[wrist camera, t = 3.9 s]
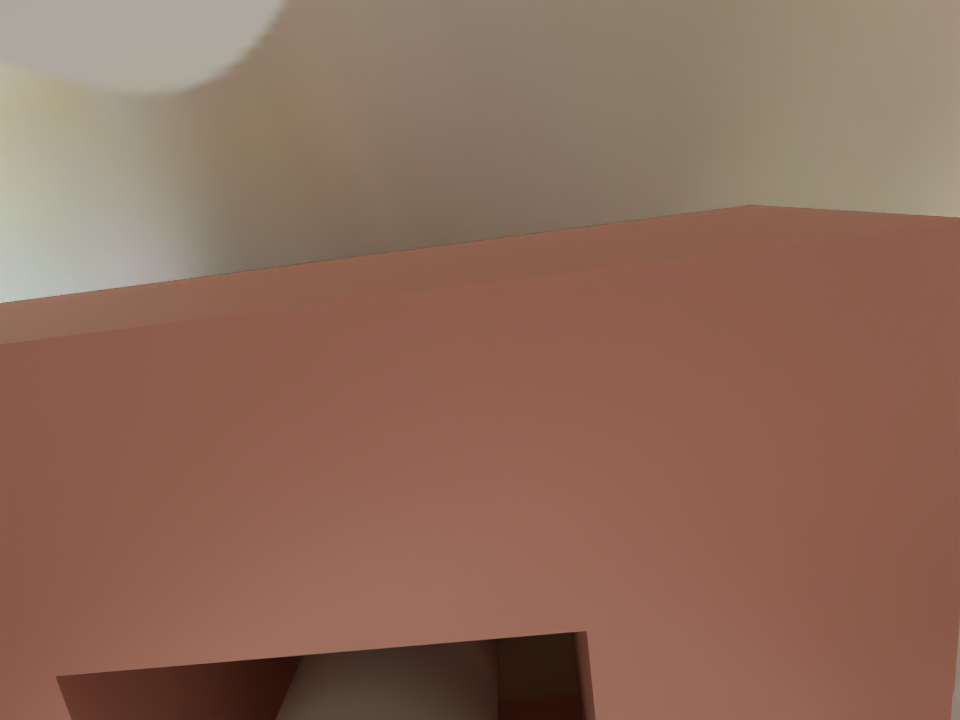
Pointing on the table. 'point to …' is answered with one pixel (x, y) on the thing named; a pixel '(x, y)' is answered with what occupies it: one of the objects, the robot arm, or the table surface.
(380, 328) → the salmon square frame
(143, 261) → the table surface
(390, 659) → the stand
